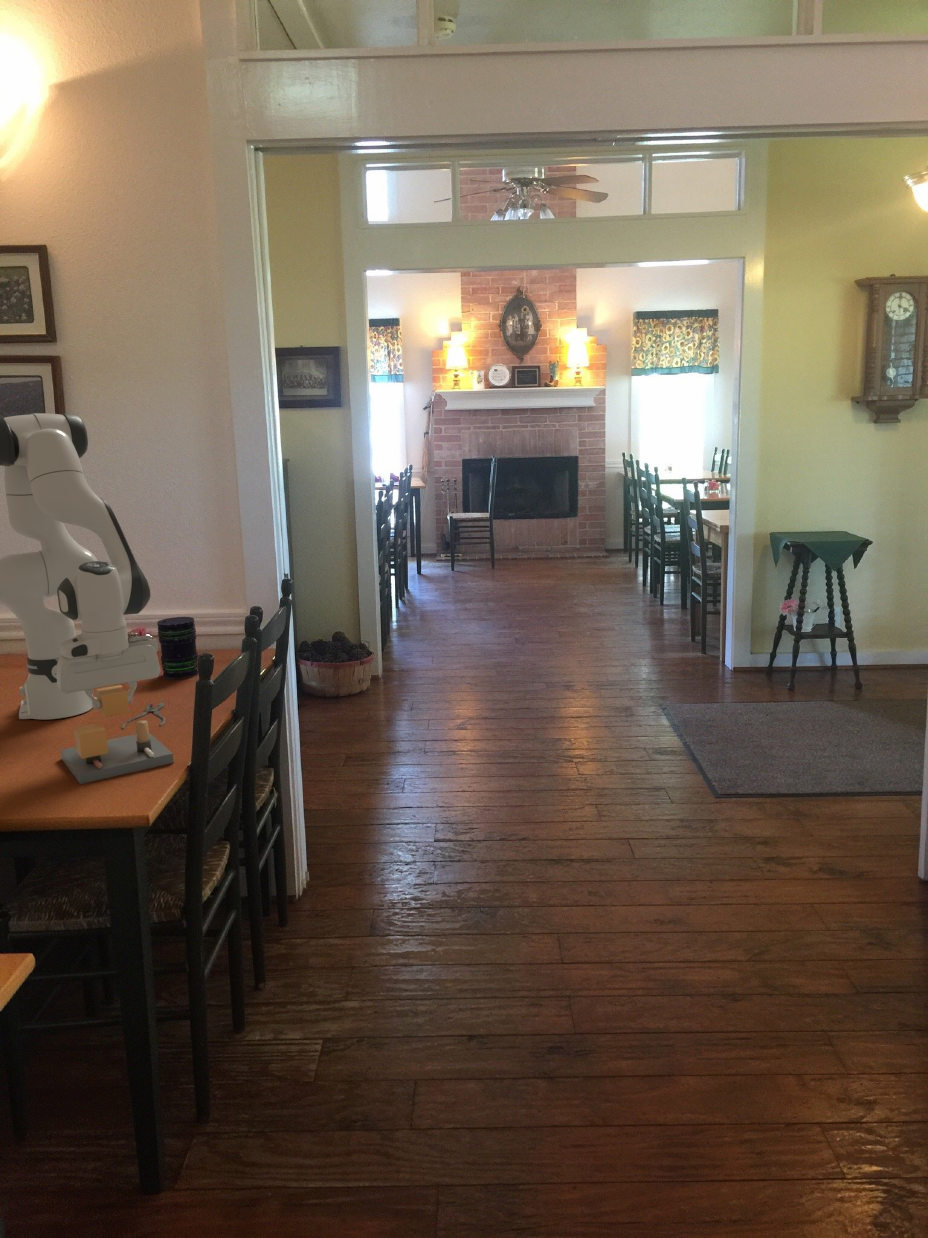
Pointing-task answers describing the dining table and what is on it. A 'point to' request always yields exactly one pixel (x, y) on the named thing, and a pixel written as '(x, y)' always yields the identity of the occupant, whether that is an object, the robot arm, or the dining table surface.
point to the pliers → (150, 710)
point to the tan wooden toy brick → (113, 701)
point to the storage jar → (178, 647)
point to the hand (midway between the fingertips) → (113, 705)
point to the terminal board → (113, 753)
